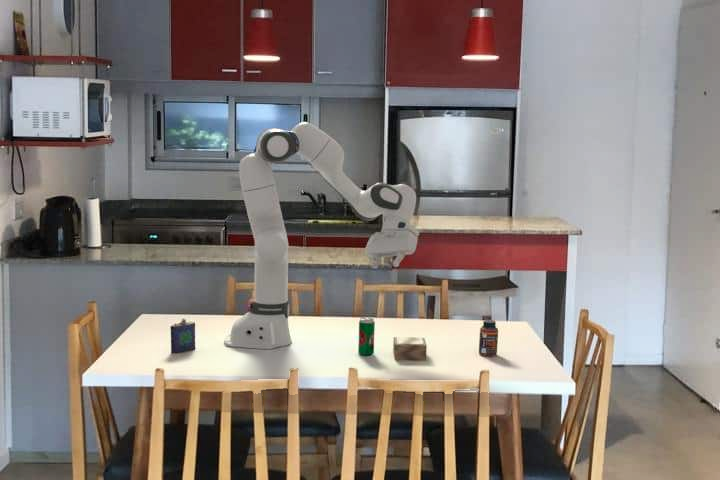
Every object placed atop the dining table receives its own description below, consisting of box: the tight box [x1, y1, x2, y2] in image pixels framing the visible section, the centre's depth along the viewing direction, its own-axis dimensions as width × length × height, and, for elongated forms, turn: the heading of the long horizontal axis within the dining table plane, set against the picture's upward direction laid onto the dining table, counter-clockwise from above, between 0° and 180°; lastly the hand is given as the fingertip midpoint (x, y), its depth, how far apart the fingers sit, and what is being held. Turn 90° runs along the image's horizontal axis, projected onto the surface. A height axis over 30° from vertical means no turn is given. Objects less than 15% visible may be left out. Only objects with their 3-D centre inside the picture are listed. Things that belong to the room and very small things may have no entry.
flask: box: [170, 318, 196, 355], centre depth 299 cm, size 9×3×11 cm, turn 138°
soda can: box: [357, 316, 376, 357], centre depth 300 cm, size 5×5×12 cm
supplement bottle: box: [478, 319, 499, 357], centre depth 304 cm, size 6×6×11 cm
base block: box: [392, 336, 428, 362], centre depth 300 cm, size 10×10×5 cm
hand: (384, 266), depth 308 cm, fingers open, 8 cm apart
